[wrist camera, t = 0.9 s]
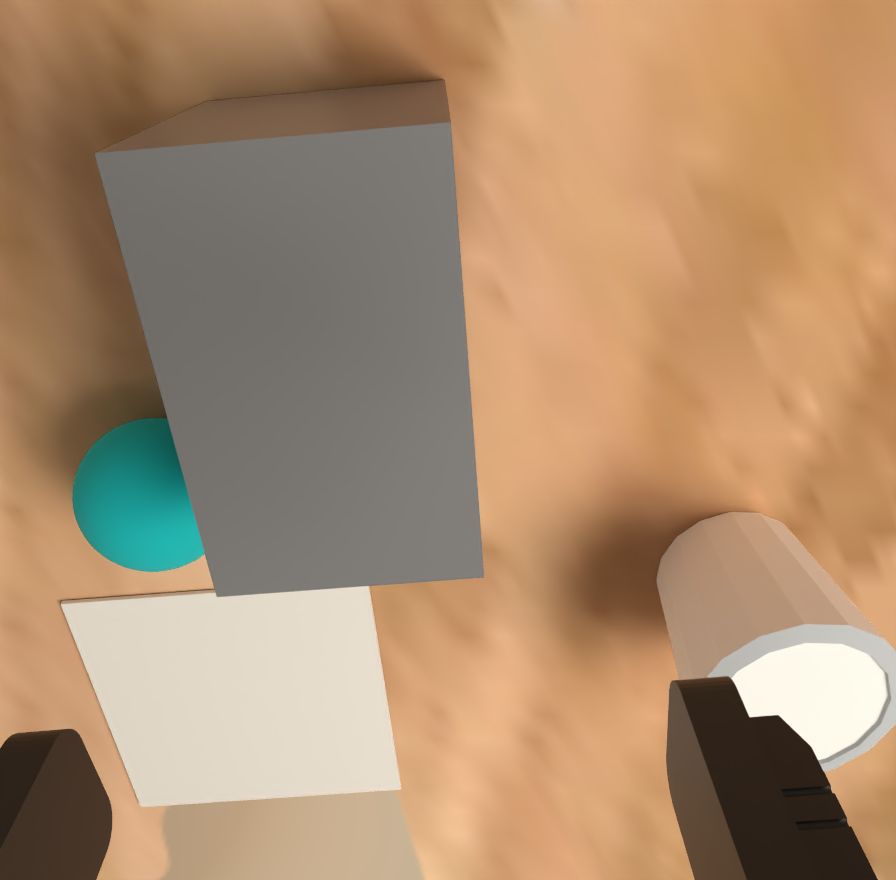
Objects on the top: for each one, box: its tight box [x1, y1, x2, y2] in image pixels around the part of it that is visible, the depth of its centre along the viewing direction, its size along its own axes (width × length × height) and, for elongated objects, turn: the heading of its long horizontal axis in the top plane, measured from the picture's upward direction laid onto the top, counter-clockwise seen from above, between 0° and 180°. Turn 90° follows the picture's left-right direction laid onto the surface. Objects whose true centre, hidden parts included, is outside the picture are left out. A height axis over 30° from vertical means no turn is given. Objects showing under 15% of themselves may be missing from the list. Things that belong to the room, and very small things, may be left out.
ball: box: [72, 418, 205, 572], centre depth 27 cm, size 5×5×5 cm
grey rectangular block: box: [94, 80, 484, 597], centre depth 22 cm, size 11×7×9 cm, turn 5°
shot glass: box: [656, 512, 896, 772], centre depth 29 cm, size 7×7×7 cm
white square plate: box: [61, 586, 401, 807], centre depth 34 cm, size 12×12×1 cm
